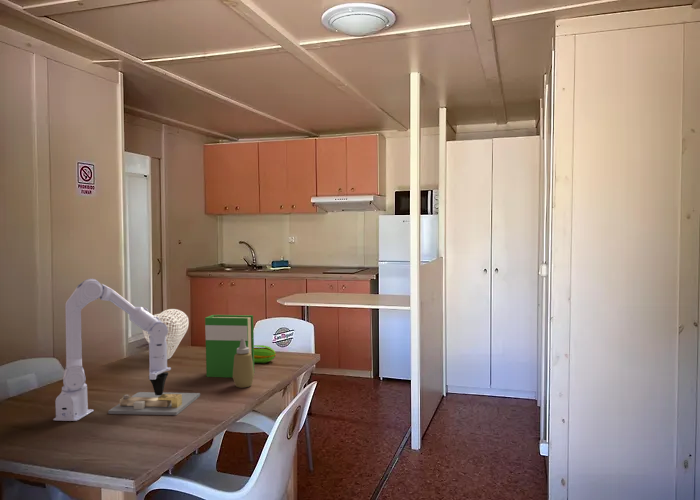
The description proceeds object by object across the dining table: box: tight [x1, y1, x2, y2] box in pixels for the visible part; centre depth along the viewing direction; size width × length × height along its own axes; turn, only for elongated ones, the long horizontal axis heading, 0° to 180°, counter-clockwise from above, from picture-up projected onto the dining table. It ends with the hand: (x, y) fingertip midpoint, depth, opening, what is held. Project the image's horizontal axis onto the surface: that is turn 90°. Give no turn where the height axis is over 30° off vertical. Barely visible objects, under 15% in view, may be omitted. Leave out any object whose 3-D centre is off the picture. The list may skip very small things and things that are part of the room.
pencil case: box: [254, 344, 277, 364], centre depth 240 cm, size 7×8×20 cm
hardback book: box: [204, 314, 255, 379], centre depth 218 cm, size 18×7×24 cm, turn 81°
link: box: [119, 394, 171, 407], centre depth 178 cm, size 17×4×3 cm, turn 83°
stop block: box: [134, 401, 145, 409], centre depth 176 cm, size 2×3×2 cm, turn 84°
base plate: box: [107, 391, 201, 416], centre depth 182 cm, size 20×23×1 cm
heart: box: [142, 308, 190, 360], centre depth 247 cm, size 28×16×22 cm, turn 179°
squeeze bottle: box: [232, 338, 255, 389], centre depth 203 cm, size 8×8×18 cm
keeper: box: [158, 394, 182, 408], centre depth 178 cm, size 4×6×3 cm, turn 84°
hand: (159, 394), depth 185 cm, fingers closed
